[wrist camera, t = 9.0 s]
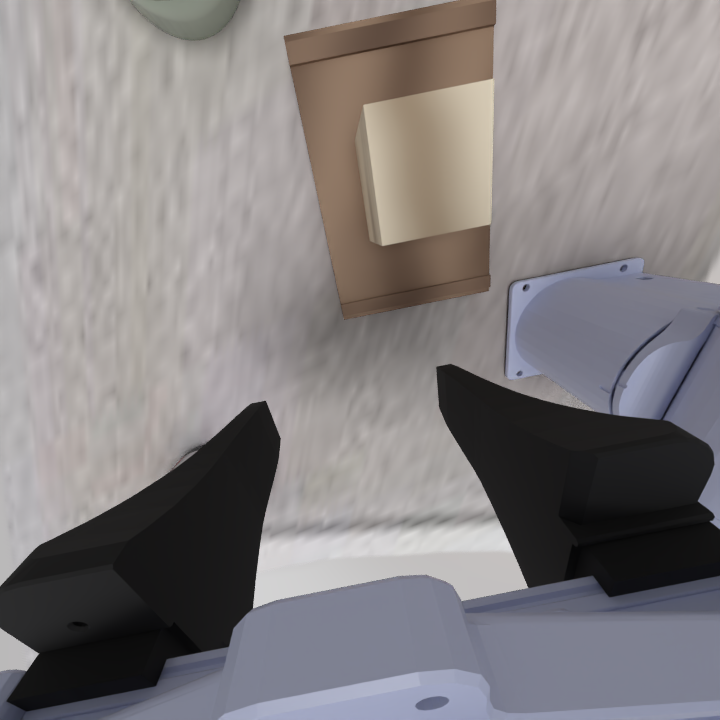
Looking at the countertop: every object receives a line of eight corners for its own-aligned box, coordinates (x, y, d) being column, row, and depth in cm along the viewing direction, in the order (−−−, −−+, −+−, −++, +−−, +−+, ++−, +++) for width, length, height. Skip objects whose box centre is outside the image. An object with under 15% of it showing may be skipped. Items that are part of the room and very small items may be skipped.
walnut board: (482, 10, 14) (496, -11, 13) (480, 287, 20) (490, 291, 19) (287, 50, 14) (283, 33, 13) (343, 314, 20) (344, 320, 19)
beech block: (446, 122, 15) (494, 78, 11) (450, 224, 17) (491, 224, 13) (354, 141, 15) (363, 105, 11) (369, 240, 17) (382, 245, 13)
